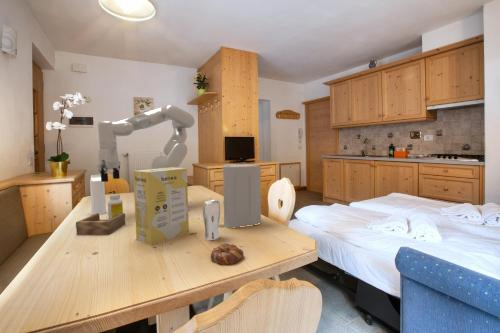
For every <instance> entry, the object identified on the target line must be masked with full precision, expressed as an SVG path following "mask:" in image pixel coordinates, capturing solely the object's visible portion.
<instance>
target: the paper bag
mask: <svg viewBox="0 0 500 333" xmlns="http://www.w3.org/2000/svg"><path fill="white" fill-rule="evenodd" d="M261 168H262V167H261V165H255V164H238V163H237V164H236V163H235V164H234V163H229V164H228V163H227V164H223V166H222V183H223V184H222V185H223V186H222V189H223V228H224V227H226V228H225V229H227V228H232V229H234V228H233V227H240V226H247V225H255V224H258V223H260V222H261V223H262V202H261V201H262V199H261V198H262V194H261V193H262V191H261V190H262V188H261V186H262V185H261V180H262V179H261V176H262V175H261V172H262V170H261Z"/></svg>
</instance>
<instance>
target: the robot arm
mask: <svg viewBox="0 0 500 333" xmlns="http://www.w3.org/2000/svg"><path fill="white" fill-rule="evenodd" d="M168 121H171V124H172V128H173V132H172V134H171V137H170V138H169V140H168V141H167V142H166V144H165V145H164V147H163V154H164V155H159V156H156V157H155V158H153V159H152V161H151V169H159V168H170V167H175V168H180V166H181V164H182V163H183V161H184V160H185V158H186V156H187V153H188V147H187V144H186V140H187V136H188V134H187V130H186V129H190V128H192V127H193V126H194V125H195V118H194V116H193V115H192V114H191V113H189V111H188V112H187V111H186V110H185V109H184V110H183V109H182V108H180V107H178V106H176V105H173V104H167V105H162V106H158V107H156V108H154V109H151V110H147V111H144V112H141V113H138V114H136V115H133V116H130V117H127V118H125V119H121V120H119V121H111V120H102V121H101V120H100V121H98V123H97V129H98V130H97V131H98V140H99V141H98V144H99V149H98V164H97V167H96V168H98V171H99V174H101V182H104V183H107V182H109V174H108V171H109V170H111V169H112V170H113V171H112V179H114V180H118V179H120V176H121V175H120V171H121V170H120V169H121V161H119V160H120V159H119V154H118V147H117V145H118V144H117V137H127V136H130V135H131V134H133V132H136V131H139V130H143V129H144V130H146V129H149V128H151V127H153V126H154V127H155V126H157V125H160V124H162V123H164V122H168Z"/></svg>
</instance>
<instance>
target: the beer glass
mask: <svg viewBox="0 0 500 333" xmlns="http://www.w3.org/2000/svg"><path fill="white" fill-rule="evenodd" d="M202 218H203V223H204V240H205V241H211V240H213V241H217V240H219V239H220V233H219V225H220V219H221V206H220V201H219V200H216V199H209V200H205V201H204V200H203V202H202Z"/></svg>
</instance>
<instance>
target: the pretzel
mask: <svg viewBox="0 0 500 333" xmlns="http://www.w3.org/2000/svg"><path fill="white" fill-rule="evenodd" d="M244 255H245V254H244V250H243V249H241V248H239V247H237V245H235V244H233V243H232V244H229V243H221V244H220V245H218V246H217V247H215V248H213V249H212V251H211V253H210V260H211V261H212V262H213V263H216V264H218V265H233V264H236V263H238V262H239V261H241V260H242V259H243V258H244Z"/></svg>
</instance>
